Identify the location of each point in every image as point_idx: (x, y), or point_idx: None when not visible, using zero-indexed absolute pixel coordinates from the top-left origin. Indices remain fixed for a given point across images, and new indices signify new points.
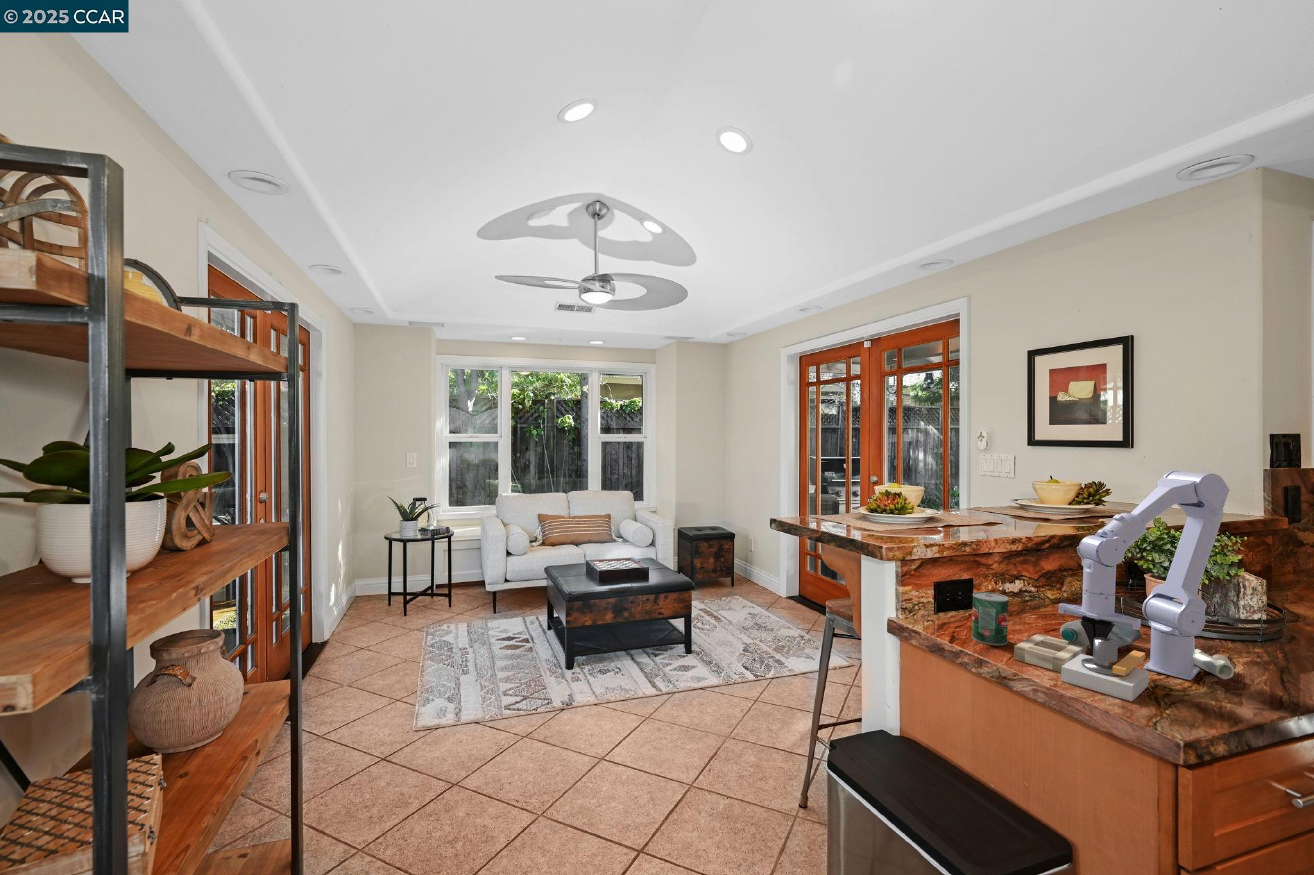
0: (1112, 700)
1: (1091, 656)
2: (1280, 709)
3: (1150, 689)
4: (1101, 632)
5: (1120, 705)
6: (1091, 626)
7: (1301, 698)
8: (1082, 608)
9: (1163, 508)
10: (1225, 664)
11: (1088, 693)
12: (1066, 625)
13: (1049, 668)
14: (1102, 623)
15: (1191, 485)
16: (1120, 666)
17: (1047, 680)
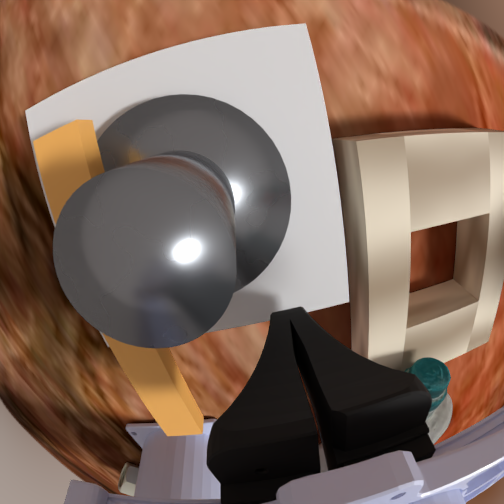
0: (91, 52)
1: (307, 311)
2: (6, 393)
3: None
4: (260, 400)
5: (63, 43)
6: (338, 401)
7: (49, 452)
8: (464, 500)
9: None
10: (120, 487)
11: (164, 23)
12: (444, 417)
13: (384, 133)
14: (281, 475)
15: None
16: (64, 169)
17: (317, 6)
